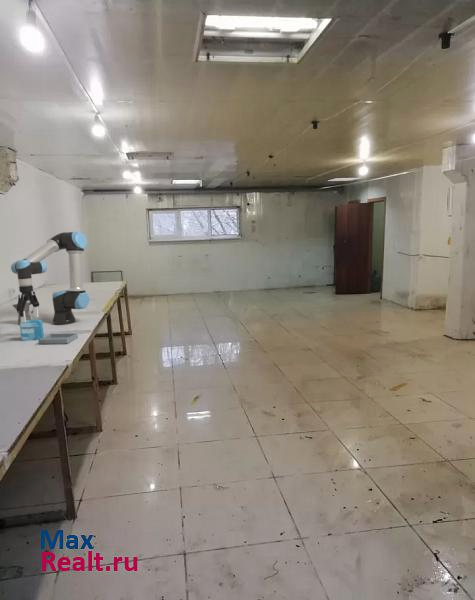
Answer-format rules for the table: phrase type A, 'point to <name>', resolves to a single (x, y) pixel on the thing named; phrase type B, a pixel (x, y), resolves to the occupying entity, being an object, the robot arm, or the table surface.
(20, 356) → the table surface
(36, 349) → the table surface
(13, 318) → the table surface
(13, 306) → the coffeepot
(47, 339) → the tray
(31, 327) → the data package
